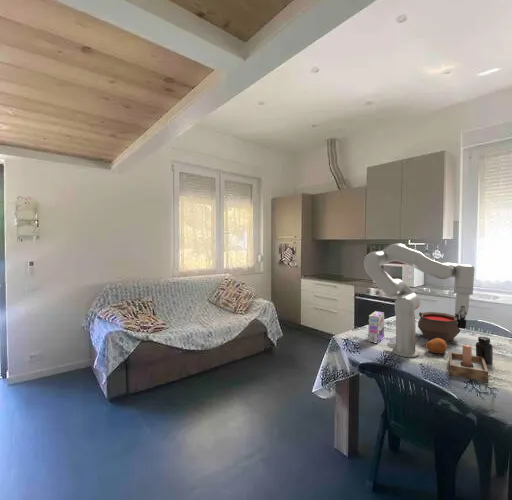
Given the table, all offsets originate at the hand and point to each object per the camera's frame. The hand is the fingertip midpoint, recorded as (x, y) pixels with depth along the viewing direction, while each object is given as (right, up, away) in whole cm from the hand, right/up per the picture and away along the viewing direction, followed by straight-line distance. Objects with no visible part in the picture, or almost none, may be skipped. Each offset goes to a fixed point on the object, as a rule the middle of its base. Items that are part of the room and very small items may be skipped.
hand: (461, 325), depth 146 cm
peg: (+2, -20, -2) cm, 21 cm away
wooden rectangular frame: (+1, -21, -3) cm, 21 cm away
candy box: (-25, -19, +40) cm, 51 cm away
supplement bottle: (+16, -20, +6) cm, 26 cm away
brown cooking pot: (+14, -18, +41) cm, 47 cm away
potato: (-1, -20, +19) cm, 27 cm away
